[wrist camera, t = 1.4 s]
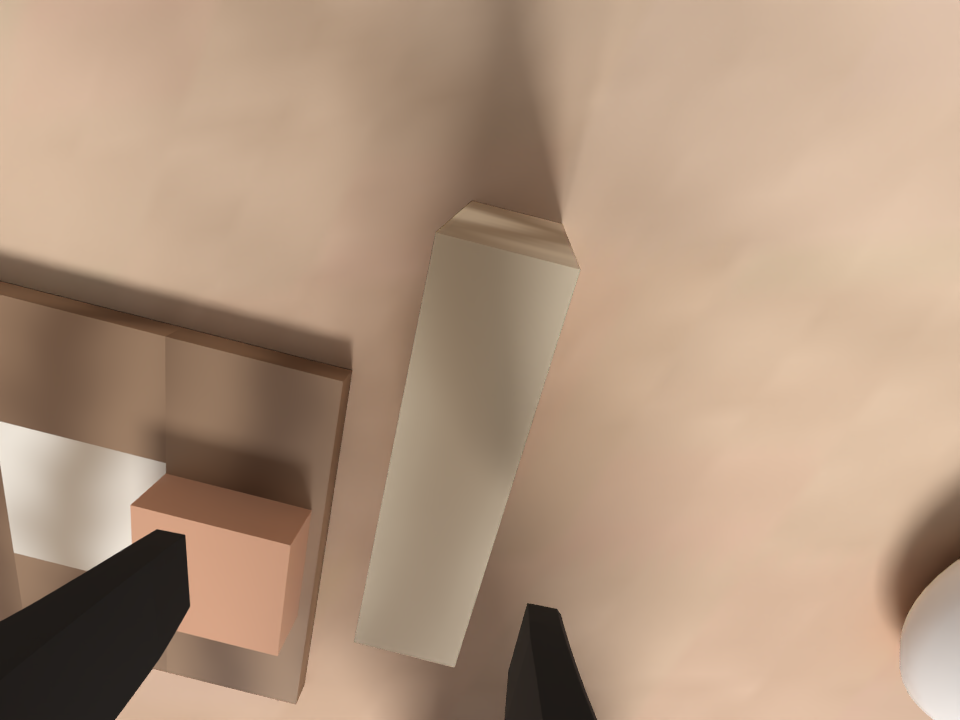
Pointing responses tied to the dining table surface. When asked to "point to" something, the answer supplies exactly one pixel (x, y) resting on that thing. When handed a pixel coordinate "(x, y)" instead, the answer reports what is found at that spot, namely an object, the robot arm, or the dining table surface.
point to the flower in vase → (934, 647)
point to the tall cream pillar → (463, 423)
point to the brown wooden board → (154, 454)
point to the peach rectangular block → (232, 559)
